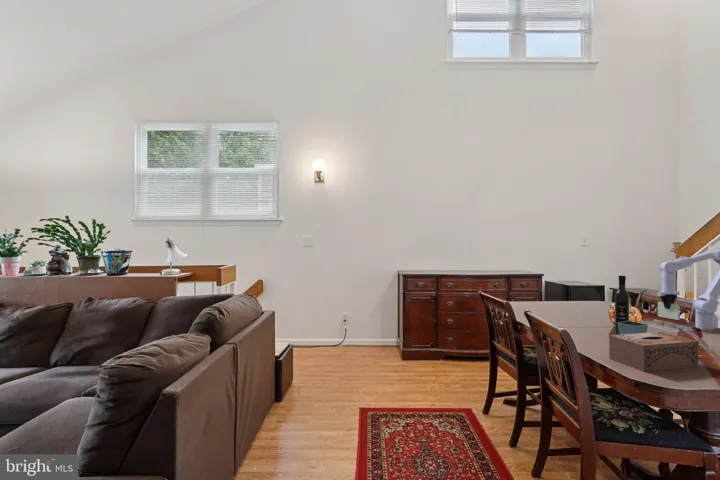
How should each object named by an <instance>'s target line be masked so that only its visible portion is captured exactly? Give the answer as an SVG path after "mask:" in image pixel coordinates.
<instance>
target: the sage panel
mask: <svg viewBox="0 0 720 480" xmlns="http://www.w3.org/2000/svg"><path fill="white" fill-rule="evenodd" d="M680 312H681V311H680V304H677V303H676V304H675V303H674V304H671V305H670V309H666V308H665V307H664V304H663V301H657V317H660V318H667V319H670V320H677V321H679V320H681V319H680V316H681V315H680V314H681V313H680Z"/></svg>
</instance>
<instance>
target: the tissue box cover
mask: <svg viewBox="0 0 720 480" xmlns="http://www.w3.org/2000/svg"><path fill="white" fill-rule="evenodd" d="M608 339H609V341H608V343H609V345H608V346H609V349H608V350H609V351H608V352H609V355H608V356H609V358H608V359H609V360H611V361H614V362H616V363H619V364H622V365H624V366H627V367H629V366H630V368H632V367H633V368H632V369H635V370H637V369H638V371H640V372H643V373H645V372H654V371H664V370H666V371H667V370H674V369H683V368H684V369H685V368H686V369H688V368H694V367H695V368H696V367H697V368H698V367H699V366H700V365H699V364H700V363H699V359H700V358H699V349H700V348H699V340H694V339H691V338H687V337H684V336H679V335H675V334H672V333H667V332H664V331H651V332H649V331H648V332H647V333H635V334H620V335H616V334H610V335H609V338H608Z"/></svg>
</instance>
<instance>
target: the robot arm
mask: <svg viewBox="0 0 720 480" xmlns="http://www.w3.org/2000/svg"><path fill="white" fill-rule="evenodd" d="M706 260H707V261H708V260H713V261H714V262H716V263H717V265H718V267H720V248H716V249H712V250H707V251H705V252H702V253H699V254H696V255H693V256H691V257H688V256H679V258H676V259H669V261H663V262H662V263H661V264H660V266H659V267H658V268H659V270H660V271H661V290H660V291H657V292H656V293H657V294H656V295H657V296H658V297H659V298H660V299H661V302H663V304H664V307H665V308H666V309H670V305H671V304H675V302H676V300H677V299H678V296H679V295H680V291H678V290H676V272H678V271H679V270H683V269H686V268H690V267H692V265H693V264H694V263H699V262H703V261H706ZM719 297H720V269H719V270H718V272H717V273H716V275H715V276H714V278H713V280H712V281H711V282H710V284H709V286H708V287H707V288H706V290H705V292H704V293H703V294H701V295H700V296H698V298H697V299H695V300H694V301H693V302H692V307H693V308H694V310H695V323H694V324H695V325H694V327H695V328H697V329H701V330H714V329H718V328H719V318H718V316H717V314H716V312H717V309H718V305H719V300H718V299H719Z"/></svg>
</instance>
